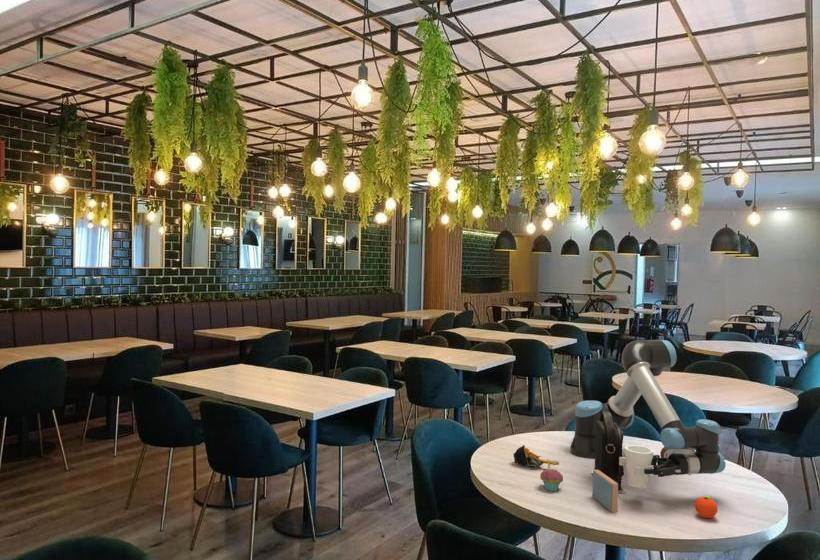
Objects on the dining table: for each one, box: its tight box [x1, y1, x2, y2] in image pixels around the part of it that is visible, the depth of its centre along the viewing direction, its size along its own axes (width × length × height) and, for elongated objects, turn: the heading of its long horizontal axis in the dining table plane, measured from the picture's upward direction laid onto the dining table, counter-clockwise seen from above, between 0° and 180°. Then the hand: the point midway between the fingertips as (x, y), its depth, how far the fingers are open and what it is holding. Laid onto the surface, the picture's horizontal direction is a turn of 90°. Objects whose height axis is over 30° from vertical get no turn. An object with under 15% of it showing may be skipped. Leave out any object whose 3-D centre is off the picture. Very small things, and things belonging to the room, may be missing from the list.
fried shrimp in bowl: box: [513, 444, 560, 469], centre depth 243 cm, size 9×11×18 cm
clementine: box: [694, 495, 718, 519], centre depth 197 cm, size 8×7×7 cm
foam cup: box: [624, 444, 654, 489], centre depth 208 cm, size 10×9×13 cm
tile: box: [591, 469, 619, 513], centre depth 206 cm, size 2×14×10 cm, turn 10°
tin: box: [659, 446, 696, 458], centre depth 249 cm, size 15×3×8 cm, turn 84°
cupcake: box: [539, 459, 564, 492], centre depth 219 cm, size 9×8×12 cm
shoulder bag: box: [590, 411, 625, 494], centre depth 227 cm, size 23×9×28 cm, turn 172°
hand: (627, 466), depth 207 cm, fingers closed on foam cup, 9 cm apart
